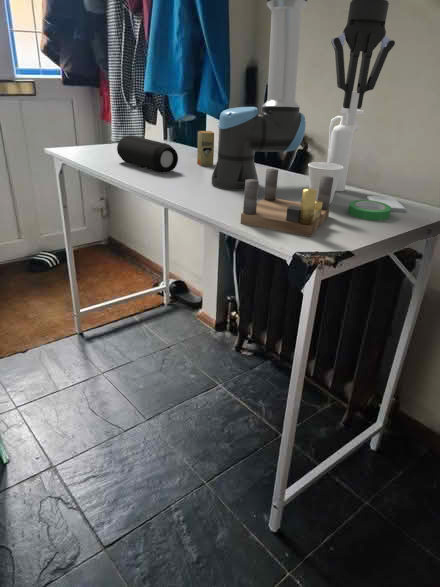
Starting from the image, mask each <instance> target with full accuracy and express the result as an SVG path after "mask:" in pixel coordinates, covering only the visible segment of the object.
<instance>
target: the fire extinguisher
mask: <svg viewBox="0 0 440 587" xmlns="http://www.w3.org/2000/svg"><path fill="white" fill-rule="evenodd" d="M346 111H347V108H343V106H341V109H340V111H339V114H342V115H336V116H335V117H333V118H332V119H331V120H330V124H329V127H328V134H329V135H328V138H329V139H328V150H327V161H326V162H328V163H335V164H339V165H342V166H343V167H344V168H343V169H342V172H341V175H340V178H339V181H338V184H337V187H336V190H335V192H344V191H345V189H346V185H347V184H346V183H347V178H348V177H347V176H348V170H349V165H350V164H349V163H350V158H351V151H352V146H353V145H352V144H353V138H354V132H357V131H359V130H360V124H359V123H360V122H359V120H358V118H357V117H355V123H354V125H352V127H351V125H346V124H344V123H345V117H346ZM364 114H365V110H362V109H357V111H356V115H364ZM337 120H340V122H339V124H338V125H335V126H334V127H333V124H334V122H335V121H337ZM332 128H333V129H332Z"/></svg>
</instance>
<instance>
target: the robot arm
mask: <svg viewBox="0 0 440 587" xmlns="http://www.w3.org/2000/svg"><path fill="white" fill-rule="evenodd" d="M307 5H308V0H266V6H267V7H268V8H269V10H270V12H271V18H270V22H271V23H270V35H269V38H270V39H269V56H268V62H269V63H268V81H267V100H266V102H264V104H262V106H261V111H259V109H258V107H256V106H240V107H239V106H238V107H232V108H227V109H225V110H222V112H220V115H219V121H218V140H217V141H218V143H217V144H218V145H217V161H216V163H215V166H214V169H213V171H212V174H211V183H210V184H211V185H212V186H214V187H216V188H219V189H223V190H228V191H229V190H230V191H245V180H247V179H254V180H258V181H259V176H258V173H257V169H256V164H255V153H256V152H270V153H271V152H272V153H273V152H278V153H279V152H280V153H285V152H294V151H296V150H297V149H298V148H299V146H300V145H301V144H302V141H303V139H304V136H305V132H306V123H307V122H306V117H305V115H304V114H303V113H302V112H300V105H299V104H298V103H297V101H296V93H297V81H298V79H297V78H298V65H299V51H300V37H301V33H300V32H301V23H302V22H301V21H302V20H301V19H302V11H303V10H304V9H305V7H307ZM389 5H390V3H389V0H351V1H350V3H349V9H348V16H347V22H346V25H345V27H344V29H343V31H342V33H341V34H339V35H337V36H336V37H334V38H332V39H331V44H332V45H331V46H332V47H333V50H334V56H335V69H336V70H335V71H336V84H337V85H336V86H337V88H338V89H340V90H341V91H342V90H343V91H344V97H343V102H342V107H343V108H347V111H346V117H345V123H344V124H346V125H349V126H353V125H354V123H355V117H356V116H357V114H356V111H357V109H358V110H362V107H363V101H364V95H365V94H366V93H367V92H369V91H373V90H374V89H375V87H376V84H377V82H378V79H379V76H380V73H381V71H382V69H383V67H384V64H385V62H386V59H387V57H388V55H389V53H390V51H391V50H392V49H393V48H394V47H395V45H396V42H395V40H393V39H390V38H389V37H388V36H387V35H386V34H387V30H386V21H387V16H388V10H389ZM345 42H346V44H347V46H348V48H349V50H350V52H349V62H348V67H347V74H346V71H345V55H344V48H343V47H344V46H345ZM379 44H380V50H379V52H378V53H377V56H376V58H375V61H374V63H373V65H372V68H371V71H370V65H371V58H372V56H373V53H374V52H373V51H374V50H375V49H376V48H377V46H379ZM360 55H361V60H360V61H361V62H360V68H359V73H358V78H357V86H356V92H353V91H354V87H355V80H356V75H357V69H358V64H359V57H360ZM369 71H370V74H369ZM356 118H357V117H356Z"/></svg>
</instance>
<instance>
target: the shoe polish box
mask: <svg viewBox="0 0 440 587" xmlns="http://www.w3.org/2000/svg"><path fill="white" fill-rule="evenodd" d="M214 149H215V132H213V131H211V130H197V151H196V152H197V156H196V157H197V159H196V160H197V161H196V162H197V165H198V166H200V167H214V153H215V152H214V151H215V150H214Z"/></svg>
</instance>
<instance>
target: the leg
mask: <svg viewBox="0 0 440 587" xmlns="http://www.w3.org/2000/svg"><path fill="white" fill-rule="evenodd" d="M316 194H317V190H316V189H314V188H309V187H305V188H302V195H301V201H300V203H301V208H300V216H299V222H300V223H303V224H311V223H312V222H314V221H315V220H316V219H317V218H318V217H319V216H320V214H321V210H322V204H323V202H322V201H318V200H316Z"/></svg>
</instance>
